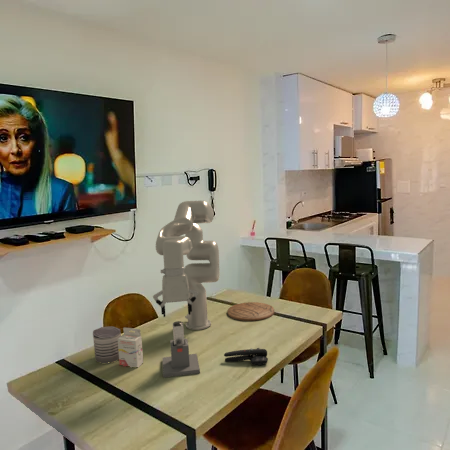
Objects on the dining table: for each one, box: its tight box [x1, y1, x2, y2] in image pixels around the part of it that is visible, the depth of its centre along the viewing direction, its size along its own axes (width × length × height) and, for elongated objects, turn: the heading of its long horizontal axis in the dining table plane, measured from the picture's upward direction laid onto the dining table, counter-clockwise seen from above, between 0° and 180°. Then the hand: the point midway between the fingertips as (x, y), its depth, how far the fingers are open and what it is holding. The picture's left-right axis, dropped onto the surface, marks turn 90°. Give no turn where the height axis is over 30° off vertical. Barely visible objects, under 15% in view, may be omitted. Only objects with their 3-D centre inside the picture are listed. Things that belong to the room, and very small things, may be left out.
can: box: [92, 326, 122, 364], centre depth 176 cm, size 11×11×12 cm
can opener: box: [223, 347, 269, 366], centre depth 167 cm, size 18×7×6 cm, turn 80°
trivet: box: [227, 301, 275, 322], centre depth 222 cm, size 25×25×2 cm
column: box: [172, 320, 185, 346], centre depth 164 cm, size 4×4×17 cm
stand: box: [162, 338, 201, 378], centre depth 164 cm, size 14×14×11 cm
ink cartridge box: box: [118, 327, 144, 368], centre depth 168 cm, size 9×5×15 cm, turn 71°
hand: (177, 314), depth 162 cm, fingers open, 9 cm apart
